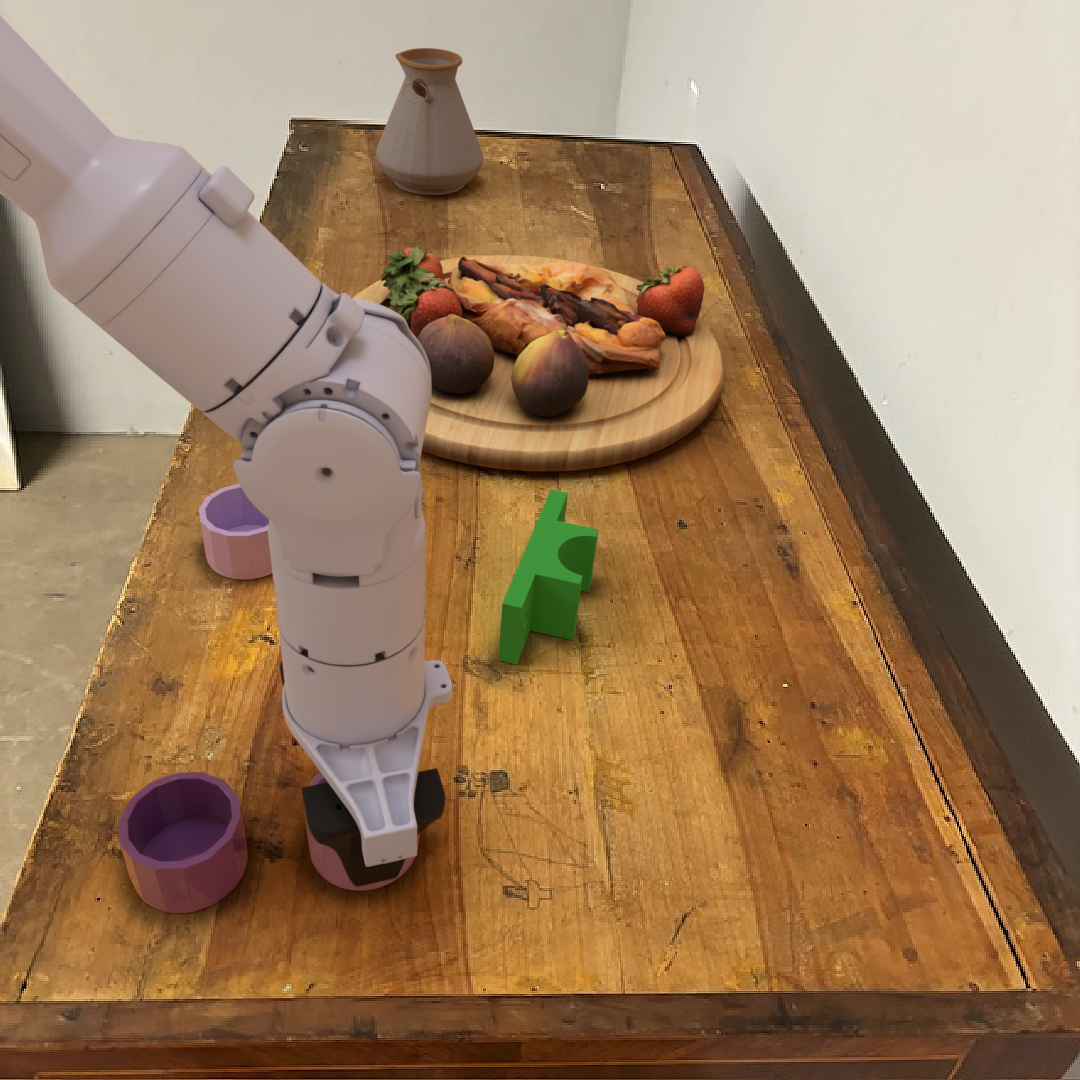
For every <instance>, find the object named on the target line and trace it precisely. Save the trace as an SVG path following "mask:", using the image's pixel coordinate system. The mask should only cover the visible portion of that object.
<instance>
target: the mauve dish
mask: <svg viewBox="0 0 1080 1080" xmlns="http://www.w3.org/2000/svg"><path fill="white" fill-rule="evenodd" d="M322 783H327V781H326V779H325V778H324V776H323V775H322V774H321V772H320V771H319V772H318V773H317V774H316V775H315V776H314V777H313V778H312V779H311V780H310V781H309V785H308V786H312V785H317V784H322ZM303 809H304V819H305V828H306V837H307V843H308V849H309V856H310V857H309V858H310V861H311V863H312V865H313V867H314V868H315V870H316V871H317V873H318V874H319V875H320V876H321V877H322V878H323V879H324V880H325V881H327V882H328V883H330V884H332V885H334V886H336V887H337V888H341V889H345V890H350V891H357V892H359V891H371V890H376V889H379V888H383V887H385V886H387V885H390V884H391V883H393V882H395V881H396V880H398V879H399V878H400V877H402V876H403V875H404V874H405V873H406V872H407V871H408V870H409V868H410V867H411V866H412V864H413V862H414V860H415V858H416V856H414V857H410V858H406V860H405V862H404V864H403V867H402V869H401V871H400V873H399V875H398V876H397V878H394V879H390V880H386V881H381V882H377V883H372V884H368V885H364V886H359V887H356V886H354V885H353V883H352V882H351V880H350V879H349V877H348V875H347V873H346V871H345V869H344V867H343V864H342V862H341V860H340V858H339V856H338V854H337V853H336V852H335V851H334V850H333V849H332V848H330V847H328V846H325V845H322V844H320V843H317V841H316V840H315V838H314V837H313V835H312V833H311V831H310V829H309V827H308V824H307V818H306V813H305V807H304V806H303ZM420 838H421V833H420V834H419V835H418V836H417V851H418V850H419V844H420V842H419V841H420Z"/></svg>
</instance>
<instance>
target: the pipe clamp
mask: <svg viewBox="0 0 1080 1080" xmlns="http://www.w3.org/2000/svg"><path fill="white" fill-rule="evenodd" d="M568 495H569V492H567V491H566V492H565V491H561V490H556V489H552V488H551V489H550V490H549V492H548V494H547V497H546V499H545V502H544V504H543V507H542V509H541V511H540V514H539V516H538V517H537V520H536V523H535V525H534V528H533V529H532V532H531V535H530V537H529V539H528V542H527V545H526V546H525V549H524V551H523V554H522V556H521V559H520V560H519V563H518V565H517V567H516V570H515V573H514V575H513V577H512V579H511V581H510V584H509V587H508V589H507V591H506V594H505V596H504V597H503V601H502V603H501V619H500V630H499V631H500V633H499V648H498V661H499V662H503V663H508V664H512V665H516V666H517V665H518V663H519V661H520V659H521V656H522V654H523V651H524V648H525V646H526V643H527V640H528V638H529V634H530V632H534V633H535V632H536V633H540V634H544V635H548V636H552V637H557V638H560V639H561V638H562V639H565V640H569V641H573V640H574V638H575V634H576V631H577V623H578V615H579V608H580V599H581V593H582V592H585V593H590V589H591V586H592V583H593V582H592V581H593V574H594V566H595V559H596V551H597V544H598V536H599V530H600V529H598V528H594V527H589V526H585V525H579V524H574V523H570V522H566V515H567V513H566V512H567V505H568V497H569V496H568Z"/></svg>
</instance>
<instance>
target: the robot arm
mask: <svg viewBox="0 0 1080 1080" xmlns="http://www.w3.org/2000/svg"><path fill="white" fill-rule="evenodd" d="M0 195H1V196H2V197H4V198H5V199H6V200H8V201H9V202H10V203H11V204H12V205H14V206H15V207H17V208H18V209H19V210H21V211H22V212H23V213H24V214H26V215H27V216H28V217H29V218H31V219H32V220H33V222H34V223H35V226H36V229H37V231H38V237H39V240H40V245H41V251H42V255H43V260H44V266H45V271H46V275H47V278H48V281H49V284H50V287H52V289H53V290H55V291H56V292H57V293H58V294H60V296H62V297H63V298H64V299H65V300H67V301H68V302H69V303H70V304H71V305H73V306H74V307H75V308H76V309H78V311H80V312H81V313H82V314H83V315H85V316H86V317H87V318H88V319H90V321H92V322H93V323H94V324H95V325H97V326H98V327H99V328H100V329H102V330H103V331H104V332H105V333H106V334H107V335H108V336H110V337H111V338H113V339H114V340H115V341H116V342H117V343H118V344H120V346H121V347H123V348H124V349H125V350H126V351H128V352H129V353H130V354H131V355H133V356H134V357H135V358H136V359H137V360H139V362H141V363H142V364H143V365H145V366H146V367H147V368H148V369H149V370H150V371H152V372H153V373H154V374H156V376H158V377H159V378H160V379H161V380H163V382H165V383H166V384H167V385H168V386H170V387H171V388H172V389H173V390H174V391H176V392H177V393H178V395H180V396H181V397H183V398H184V399H185V400H186V401H188V402H189V403H190V404H191V405H192V406H194V407H195V408H196V409H197V410H198V411H200V412H201V413H202V414H203V415H204V416H205V417H206V418H208V419H209V420H210V421H211V422H212V423H214V424H215V425H216V426H217V427H218V428H220V429H221V430H222V431H224V432H225V433H226V434H227V435H229V436H230V437H231V438H232V439H234V440H236V442H238V443H240V444H241V454H240V458H238V459H235V460H233V463H232V466H233V471H234V474H235V477H236V480H237V482H238V484H240V486H241V488H242V490H243V492H244V493H245V495H246V496H247V498H248V499H249V500H250V501H251V503H252V504H253V505H254V506H255V507H256V508H257V509H258V510H259V511H260V512H261V513H262V514H264V515H265V516H266V517H267V518H268V519H269V527H268V540H269V547H270V556H271V565H272V574H271V575H272V582H273V591H274V599H275V608H276V615H277V616H276V617H277V628H278V637H279V645H280V651H281V662H280V664H279V672H280V673H279V674H280V679H281V685H282V692H281V704H282V705H281V706H282V714H283V719H284V722H285V724H286V727H287V729H288V730H289V732H290V733H291V735H292V736H293V738H294V739H295V740H296V741H297V743H298V744H299V746H300V747H301V748H302V750H303V751H304V753H305V754H306V755H307V757H308V758H309V760H311V762H312V763H313V764H314V766H315V767H316V769H317V770H318V771H319V772H321V774H322V775H323V776H324V778H325V779H326V781H327V783H322V784H317V785H312V786H309V785H307V786H304V787H301V796H302V801H303V808H304V807H305V811H304V814H305V813H306V818H307V824H308V827H309V829H310V831H311V833H312V835H313V837H314V838H315V840H316V841H317V843H320V844H322V845H325V846H328V847H330V848H332V849H333V850H334V851H335V852H336V853H337V854H338V856H339V858H340V860H341V862H342V864H343V867H344V869H345V871H346V873H347V875H348V877H349V879H350V880H351V882H352V883H353V885H354V886H356V887H359V886H364V885H368V884H372V883H377V882H381V881H386V880H390V879H394V878H397V876H398V875H399V873H400V871H401V869H402V867H403V864H404V862H405V860H406V858H410V857H414V856H415V857H417V856H418V850H417V836H418V835H419V834H420V835H421V833H422V832H423V831H424V830H425V829H426V828H427V827H429V826H430V825H432V824H433V823H435V822H436V821H438V820H439V819H440V818H441V817H443V814H444V810H445V806H446V805H445V804H446V793H445V789H444V786H443V783H442V779H441V775H440V773H439V768H436V767H435V768H430V769H425V770H420V764H421V758H422V752H423V747H424V739H425V733H426V727H427V722H428V715H429V712H430V710H431V709H432V708H433V707H435V706H439V705H444V704H447V703H449V702H451V700H452V698H453V682H452V678H451V677H450V674H449V673H450V672H449V669H448V668H447V665H446V664H445V662H443V661H441V660H439V659H431V660H426V533H427V530H426V520H425V516H424V512H423V506H424V487H423V483H422V474H421V472H420V471H421V470H420V469H421V466H420V465H421V464H420V463H421V458H422V452H423V451H422V446H423V441H424V435H425V429H426V423H427V418H428V413H429V407H430V402H431V395H432V385H431V369H430V364H429V360H428V358H427V355H426V353H425V351H424V349H423V347H422V345H421V344H420V342H419V341H418V339H417V338H416V337H415V336H414V334H413V333H412V332H411V331H410V329H409V327H408V324H407V322H406V320H405V319H404V318H403V317H402V316H401V315H399V314H398V313H396V312H395V311H393V310H391V309H389V308H387V307H385V306H382V305H380V304H377V303H374V302H370V301H366V300H361V299H354V298H353V297H351V296H350V295H349V294H348V293H347V292H342V293H340V294H338V293H337V292H335V291H334V290H333V289H332V288H330V287H329V285H327V284H326V283H325V282H321V280H320V279H319V278H318V277H317V276H315V274H314V273H313V272H312V271H311V270H309V268H307V267H306V265H304V264H303V263H302V262H301V261H300V260H299V259H298V258H297V256H295V255H294V254H293V253H292V252H291V251H290V250H289V248H287V247H286V246H285V245H284V244H283V243H282V242H281V241H280V240H279V239H278V238H277V237H276V236H275V235H274V234H273V233H272V232H271V231H270V230H268V229H267V228H266V227H265V226H264V225H263V224H262V223H261V221H260V220H258V218H256V217H255V216H254V215H253V214H252V213H251V211H249V209H250V208H251V205H252V203H253V202H254V200H255V194H254V191H253V190H252V189H250V187H249V186H248V185H246V183H244V182H243V180H241V179H240V177H238V176H237V174H235V172H234V171H233V170H231V169H230V167H228V166H227V165H221V166H220V167H218V168H217V169H216V170H215V171H214V172H213V173H212V174H211V173H210V172H209V171H208V170H207V169H206V168H205V167H203V165H202V164H201V163H200V162H199V161H198V160H197V159H196V158H194V157H193V155H192V154H191V153H189V152H188V150H187V149H185V148H184V147H183V146H181V145H176V144H173V143H167V142H166V143H165V142H157V141H156V142H155V141H148V140H139V139H134V138H133V139H132V138H125V137H122V136H118V135H116V134H114V133H113V132H112V131H111V130H110V129H109V128H108V127H107V125H105V124H104V122H103V121H102V120H101V119H100V118H99V117H98V116H97V115H96V114H95V113H94V112H93V111H92V110H91V109H90V107H89V106H88V105H86V103H85V102H84V101H83V100H82V99H81V98H80V97H79V96H78V95H77V94H76V93H75V92H74V91H73V89H71V87H70V86H68V85H67V84H66V83H65V81H64V80H63V79H62V78H61V77H60V75H58V74H57V73H56V72H55V71H54V70H53V69H52V68H51V67H50V66H49V64H47V63H46V61H45V60H43V58H42V57H41V56H40V55H39V54H38V53H37V52H36V51H35V50H34V49H33V48H32V47H31V45H29V44H28V42H26V41H25V39H24V38H23V37H22V36H21V35H20V34H19V33H18V32H17V31H16V30H15V29H14V28H13V26H11V24H9V23H8V22H7V20H5V19H4V18H3V16H2V15H1V14H0Z"/></svg>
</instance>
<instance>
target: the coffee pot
mask: <svg viewBox="0 0 1080 1080" xmlns="http://www.w3.org/2000/svg"><path fill="white" fill-rule="evenodd" d="M395 59H396V60H397V62H398V63H399V65H400V67H401V69H402V71H403V72H404V76H405V77H404V79H403V81H402V84H401V87H400V89H399V92H398V94H397V96H396V99H395V102H394V105H393V106H392V108H391V109H392V110H391V111H390V114H389V116H388V119H387V122H386V124H385V126H384V129H383V132H382V133H381V137H380V139H379V142H378V144H377V147H376V149H375V159H376V161H377V164H378V165H379V168H380V169H381V171H382V173H384V174H385V175H386V177H387V178H389V179H390V180H392V181H393V183H394V184H395V186H396V187H398V188H399V189H401V190H404V191H406V192H408V193H413V194H416V195H423V196H441V195H442V196H443V195H448V194H455V193H456V192H459V191H461V190H462V189H463V188H464V187H465V186H466V184H468V183H469V182H471V181H472V180H473V179H474V178H475V177H477V175H478V173H479V172H480V171H481V168H482V166H483V163H484V159H485V158H484V153H483V151H482V148H481V144H480V142H479V139H478V137H477V134H476V131H475V128H474V126H473V123H472V121H471V118H470V115H469V113H468V109H467V107H466V104H465V102H464V99H463V97H462V94H461V91H460V88H459V86H458V83H457V80H456V77H457V74H458V69H459V67H460V66H461V65H462V64H463V58H462V56H461V55H460V54H458V53H456V52H454V51H450V50H447V49H442V48H433V47H417V48H410V49H405V50H403V51H400V52H398V53H396V54H395Z"/></svg>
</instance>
